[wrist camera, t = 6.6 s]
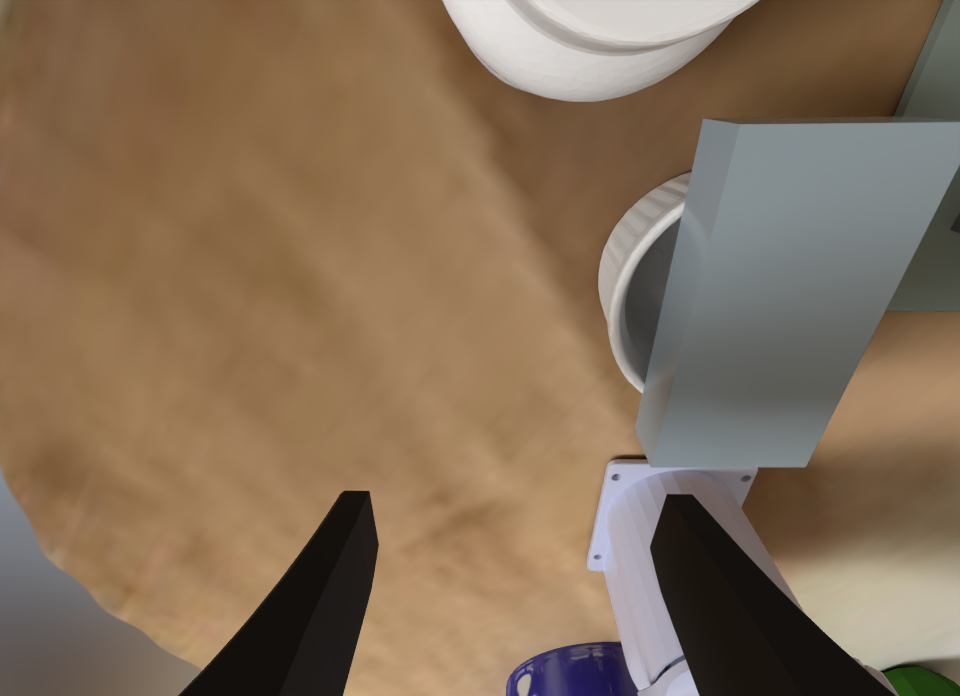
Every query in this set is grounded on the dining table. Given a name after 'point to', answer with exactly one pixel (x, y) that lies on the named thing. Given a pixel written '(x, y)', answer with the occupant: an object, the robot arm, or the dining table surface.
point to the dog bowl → (574, 672)
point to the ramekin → (640, 274)
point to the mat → (942, 252)
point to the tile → (784, 279)
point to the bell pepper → (921, 682)
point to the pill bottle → (589, 41)
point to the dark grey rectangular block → (956, 224)
